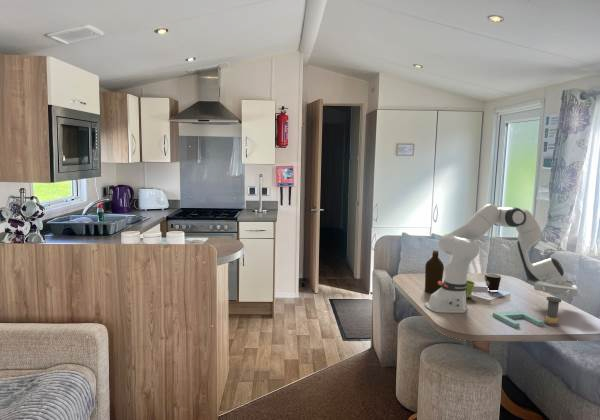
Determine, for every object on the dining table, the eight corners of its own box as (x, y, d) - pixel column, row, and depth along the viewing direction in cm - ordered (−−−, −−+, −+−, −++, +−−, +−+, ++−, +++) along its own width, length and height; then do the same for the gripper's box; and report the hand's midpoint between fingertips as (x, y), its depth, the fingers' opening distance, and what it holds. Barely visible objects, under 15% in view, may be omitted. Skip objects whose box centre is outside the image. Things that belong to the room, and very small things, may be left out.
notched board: (514, 327, 221) (514, 323, 221) (492, 316, 237) (492, 312, 236) (543, 325, 225) (543, 321, 225) (520, 314, 241) (520, 310, 241)
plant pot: (471, 300, 262) (472, 285, 261) (454, 297, 267) (456, 282, 266) (475, 296, 270) (476, 281, 269) (458, 293, 275) (459, 279, 274)
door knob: (550, 326, 224) (553, 301, 222) (541, 322, 230) (543, 297, 228) (561, 326, 225) (564, 300, 224) (551, 321, 232) (554, 296, 230)
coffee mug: (501, 294, 276) (502, 277, 275) (486, 292, 278) (487, 276, 276) (497, 288, 287) (498, 273, 286) (482, 287, 289) (483, 272, 288)
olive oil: (440, 295, 270) (443, 253, 267) (422, 292, 274) (424, 251, 271) (443, 290, 279) (446, 250, 276) (425, 287, 284) (428, 248, 281)
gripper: (535, 277, 252) (533, 283, 241) (578, 283, 242) (578, 289, 230) (534, 288, 253) (532, 294, 241) (577, 294, 243) (577, 301, 231)
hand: (555, 292), depth 236 cm, fingers open, 8 cm apart
